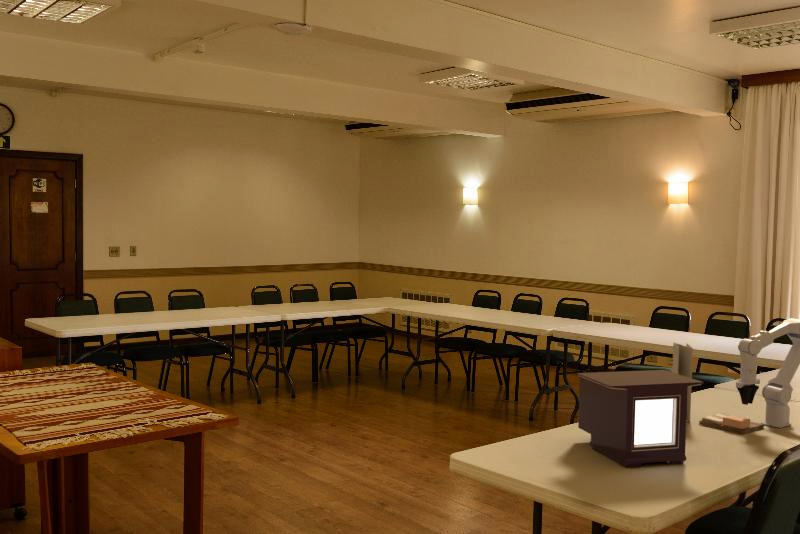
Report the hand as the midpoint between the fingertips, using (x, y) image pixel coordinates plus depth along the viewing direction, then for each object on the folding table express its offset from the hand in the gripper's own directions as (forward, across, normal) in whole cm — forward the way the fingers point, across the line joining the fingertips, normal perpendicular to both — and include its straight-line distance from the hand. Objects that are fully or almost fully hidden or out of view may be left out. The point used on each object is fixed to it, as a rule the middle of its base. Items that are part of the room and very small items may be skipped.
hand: (747, 403), depth 309 cm
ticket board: (+9, +4, -4) cm, 11 cm away
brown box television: (+10, +68, -6) cm, 68 cm away
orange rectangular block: (+8, +8, 0) cm, 11 cm away
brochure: (+10, +8, -24) cm, 27 cm away
